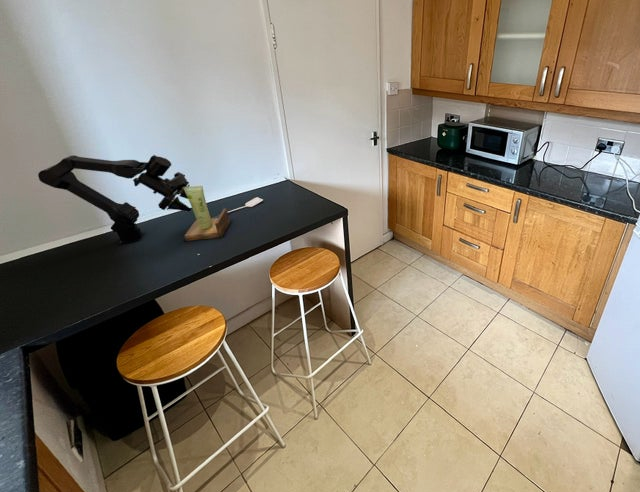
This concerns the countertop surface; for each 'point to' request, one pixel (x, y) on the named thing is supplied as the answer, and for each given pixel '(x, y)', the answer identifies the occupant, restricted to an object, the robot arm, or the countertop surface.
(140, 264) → the countertop surface
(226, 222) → the wooden stand
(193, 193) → the tube
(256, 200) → the spatula
